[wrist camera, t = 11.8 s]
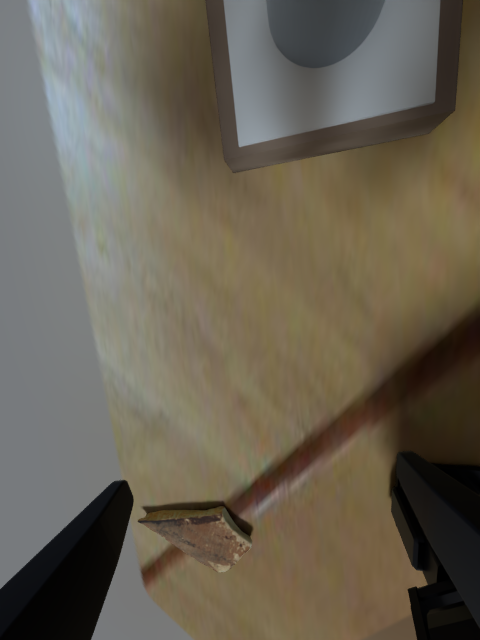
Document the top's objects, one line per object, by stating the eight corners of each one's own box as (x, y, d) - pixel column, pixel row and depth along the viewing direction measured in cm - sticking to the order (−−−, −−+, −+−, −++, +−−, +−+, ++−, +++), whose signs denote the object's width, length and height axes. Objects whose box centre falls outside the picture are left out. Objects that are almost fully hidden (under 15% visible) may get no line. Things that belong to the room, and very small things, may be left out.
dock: (443, -150, 12) (483, -259, 9) (428, 133, 15) (457, 108, 12) (208, -52, 15) (191, -116, 12) (233, 172, 17) (223, 158, 15)
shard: (144, 508, 28) (135, 524, 27) (171, 466, 26) (163, 481, 24) (225, 561, 28) (221, 581, 26) (259, 523, 26) (257, 542, 24)
